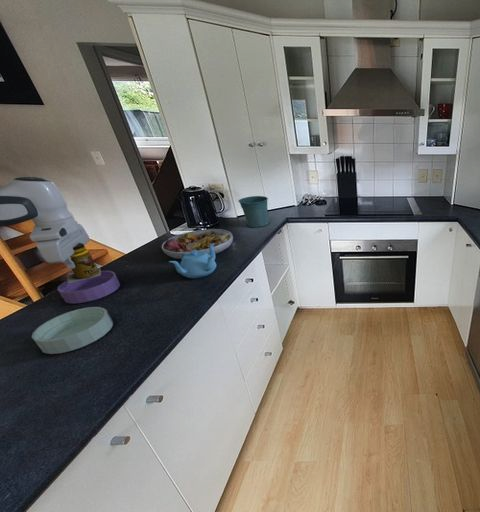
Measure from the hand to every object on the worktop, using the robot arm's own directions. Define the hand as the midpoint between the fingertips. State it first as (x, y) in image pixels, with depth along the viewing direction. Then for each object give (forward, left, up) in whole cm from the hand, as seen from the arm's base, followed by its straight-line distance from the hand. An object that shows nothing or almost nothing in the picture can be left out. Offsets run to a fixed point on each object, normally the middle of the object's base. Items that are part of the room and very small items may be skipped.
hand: (78, 263), depth 97 cm
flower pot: (+60, +57, -13) cm, 84 cm away
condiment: (0, 0, -5) cm, 5 cm away
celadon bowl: (+6, -28, -12) cm, 31 cm away
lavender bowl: (0, 0, -12) cm, 12 cm away
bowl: (+32, +29, -13) cm, 45 cm away
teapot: (+35, +1, -13) cm, 37 cm away
